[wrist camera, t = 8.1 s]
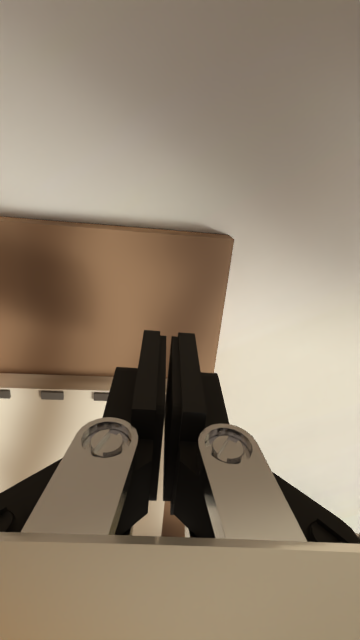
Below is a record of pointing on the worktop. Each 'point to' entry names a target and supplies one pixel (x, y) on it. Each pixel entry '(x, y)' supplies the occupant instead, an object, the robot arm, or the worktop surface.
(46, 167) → the worktop surface
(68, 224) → the pad
